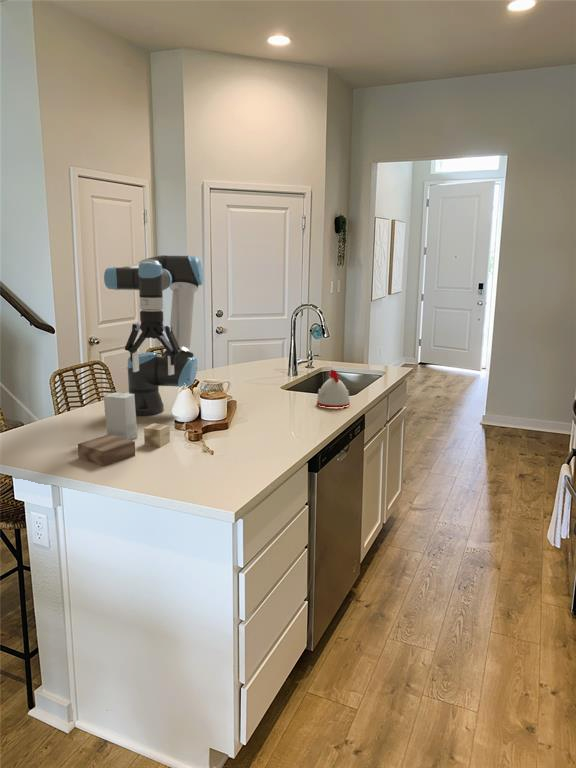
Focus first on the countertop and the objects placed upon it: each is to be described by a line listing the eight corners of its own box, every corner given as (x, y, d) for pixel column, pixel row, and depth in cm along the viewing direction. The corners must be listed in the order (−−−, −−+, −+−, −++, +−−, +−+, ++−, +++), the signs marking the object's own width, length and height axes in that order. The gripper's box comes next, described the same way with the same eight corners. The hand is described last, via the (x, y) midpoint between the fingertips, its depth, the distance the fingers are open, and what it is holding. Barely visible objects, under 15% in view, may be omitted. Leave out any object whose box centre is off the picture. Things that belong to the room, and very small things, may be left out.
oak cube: (144, 445, 193) (143, 428, 192) (154, 440, 199) (153, 423, 198) (160, 447, 191) (159, 430, 190) (169, 442, 197) (169, 425, 196)
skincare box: (137, 437, 201) (136, 393, 198) (126, 443, 195) (124, 398, 191) (117, 435, 203) (115, 391, 200) (105, 440, 197) (103, 395, 194)
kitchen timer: (341, 400, 259) (343, 366, 256) (354, 407, 246) (356, 373, 243) (312, 402, 255) (313, 368, 251) (324, 410, 242) (325, 374, 239)
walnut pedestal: (78, 459, 180) (77, 443, 179) (110, 449, 190) (109, 434, 189) (104, 467, 174) (103, 451, 172) (135, 456, 183) (134, 441, 182)
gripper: (112, 309, 194) (115, 372, 199) (179, 312, 187) (180, 377, 191) (125, 307, 201) (128, 368, 206) (190, 310, 194) (191, 373, 198)
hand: (153, 373), depth 199 cm, fingers open, 13 cm apart
